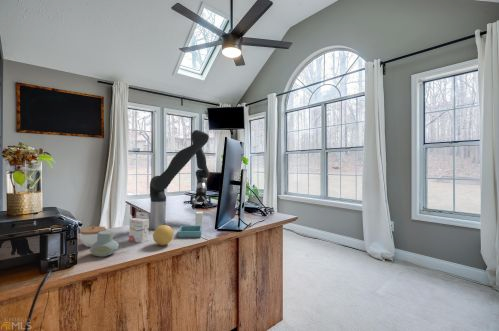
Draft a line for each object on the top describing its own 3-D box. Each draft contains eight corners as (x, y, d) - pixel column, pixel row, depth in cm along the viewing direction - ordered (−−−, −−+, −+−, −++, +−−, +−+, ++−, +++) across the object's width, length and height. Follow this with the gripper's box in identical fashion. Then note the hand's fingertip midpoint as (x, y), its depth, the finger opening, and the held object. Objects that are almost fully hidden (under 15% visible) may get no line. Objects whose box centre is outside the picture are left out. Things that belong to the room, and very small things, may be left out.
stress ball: (169, 249, 115) (180, 233, 121) (156, 237, 110) (169, 220, 117) (157, 248, 120) (169, 232, 127) (145, 236, 116) (158, 220, 123)
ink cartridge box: (128, 241, 122) (129, 213, 122) (135, 238, 127) (136, 211, 127) (141, 243, 120) (142, 214, 120) (148, 240, 125) (149, 213, 125)
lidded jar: (83, 242, 118) (83, 223, 118) (107, 240, 122) (108, 222, 122) (76, 249, 108) (76, 229, 108) (102, 247, 112) (103, 228, 112)
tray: (177, 237, 130) (178, 231, 130) (180, 231, 143) (181, 225, 143) (200, 237, 132) (201, 231, 132) (201, 231, 145) (202, 225, 145)
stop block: (195, 228, 150) (195, 213, 150) (195, 226, 155) (196, 211, 155) (202, 228, 151) (202, 213, 151) (202, 226, 155) (203, 211, 155)
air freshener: (86, 258, 99) (87, 235, 99) (94, 251, 107) (95, 229, 107) (115, 257, 101) (115, 234, 101) (120, 250, 110) (121, 229, 109)
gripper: (191, 186, 167) (189, 205, 156) (211, 187, 169) (210, 205, 158) (191, 193, 172) (189, 212, 161) (211, 193, 175) (210, 212, 163)
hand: (200, 208), depth 159 cm, fingers open, 8 cm apart
